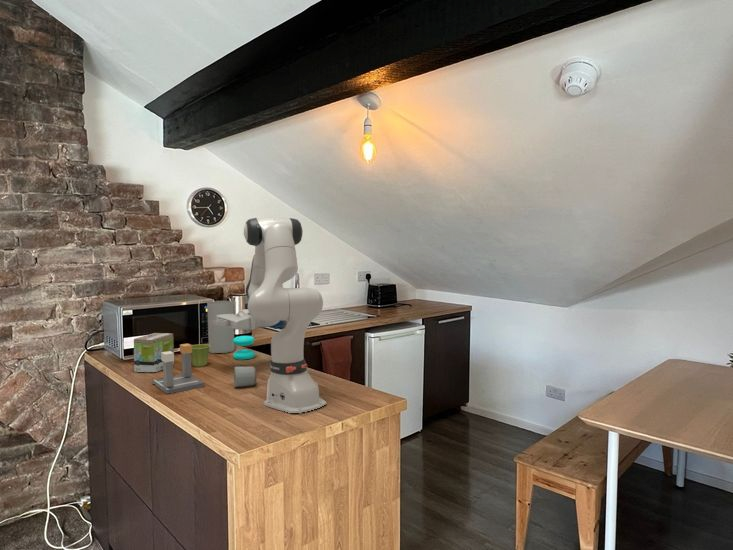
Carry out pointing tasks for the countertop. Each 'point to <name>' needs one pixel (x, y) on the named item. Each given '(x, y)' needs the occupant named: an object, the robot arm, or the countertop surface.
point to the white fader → (168, 368)
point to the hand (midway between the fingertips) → (214, 323)
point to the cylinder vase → (220, 328)
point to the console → (179, 384)
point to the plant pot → (200, 354)
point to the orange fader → (186, 359)
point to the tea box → (151, 351)
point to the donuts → (243, 353)
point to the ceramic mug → (244, 376)
